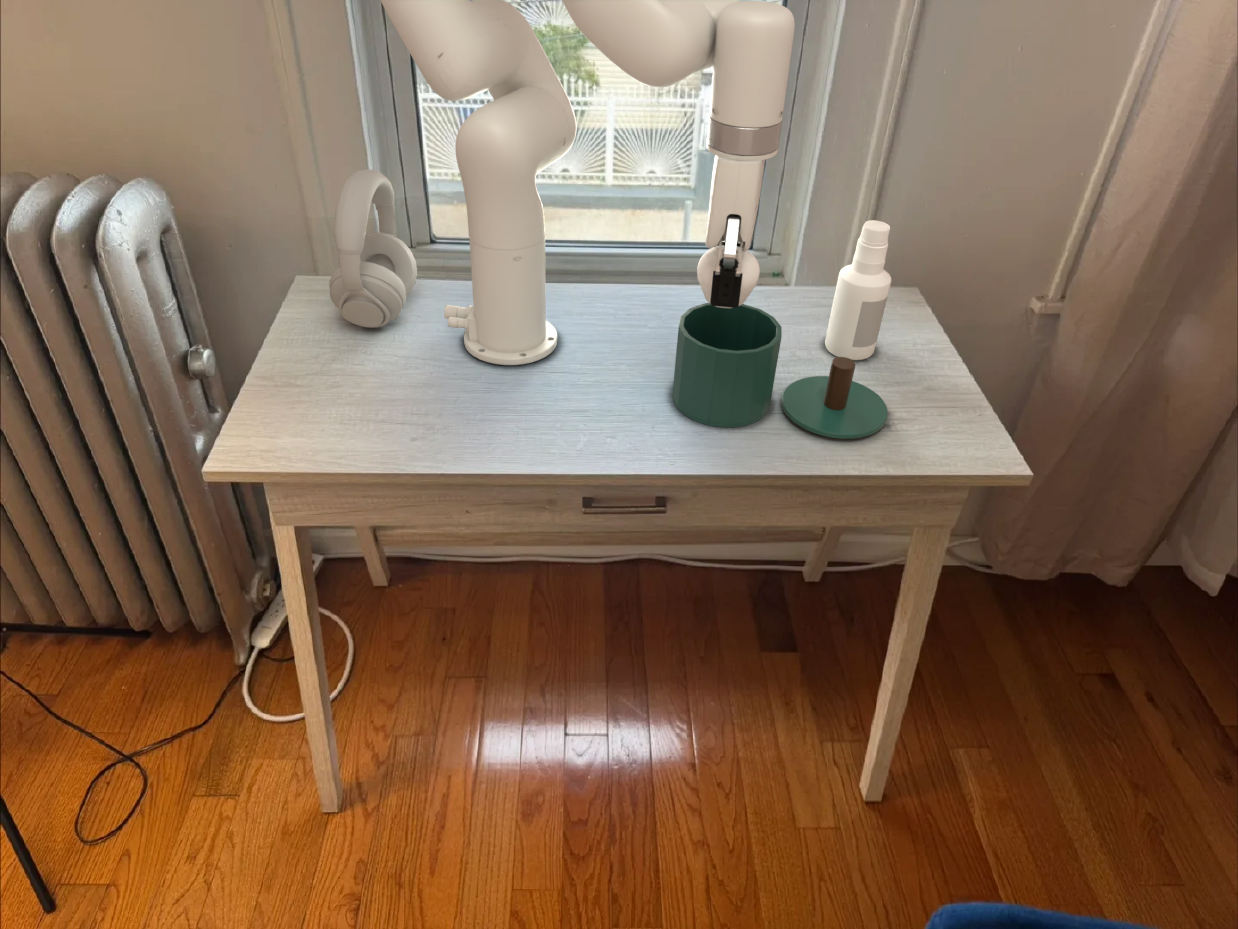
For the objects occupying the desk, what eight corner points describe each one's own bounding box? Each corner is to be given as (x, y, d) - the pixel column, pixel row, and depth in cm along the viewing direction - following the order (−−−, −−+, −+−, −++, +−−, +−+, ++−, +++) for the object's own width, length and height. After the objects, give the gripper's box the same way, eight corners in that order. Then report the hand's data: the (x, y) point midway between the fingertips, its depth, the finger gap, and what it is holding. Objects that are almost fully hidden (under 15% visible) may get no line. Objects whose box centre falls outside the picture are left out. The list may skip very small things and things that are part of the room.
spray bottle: (874, 364, 125) (905, 239, 114) (823, 357, 125) (849, 232, 114) (873, 339, 130) (903, 218, 119) (824, 333, 131) (849, 211, 120)
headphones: (398, 349, 123) (381, 205, 110) (322, 344, 123) (296, 199, 111) (429, 285, 137) (417, 151, 125) (361, 280, 137) (342, 147, 125)
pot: (668, 421, 112) (675, 346, 106) (677, 368, 122) (683, 297, 115) (768, 432, 111) (781, 357, 105) (769, 378, 121) (781, 307, 114)
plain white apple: (754, 318, 104) (763, 252, 100) (692, 312, 105) (698, 246, 100) (755, 290, 110) (764, 226, 105) (696, 284, 111) (702, 221, 106)
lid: (780, 436, 111) (790, 385, 106) (780, 378, 121) (789, 330, 116) (890, 448, 109) (904, 398, 105) (881, 389, 120) (893, 341, 115)
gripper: (712, 107, 103) (699, 255, 114) (701, 160, 89) (687, 322, 100) (780, 112, 102) (760, 260, 113) (779, 166, 89) (756, 329, 99)
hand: (726, 288), depth 107 cm, fingers closed on plain white apple, 7 cm apart
